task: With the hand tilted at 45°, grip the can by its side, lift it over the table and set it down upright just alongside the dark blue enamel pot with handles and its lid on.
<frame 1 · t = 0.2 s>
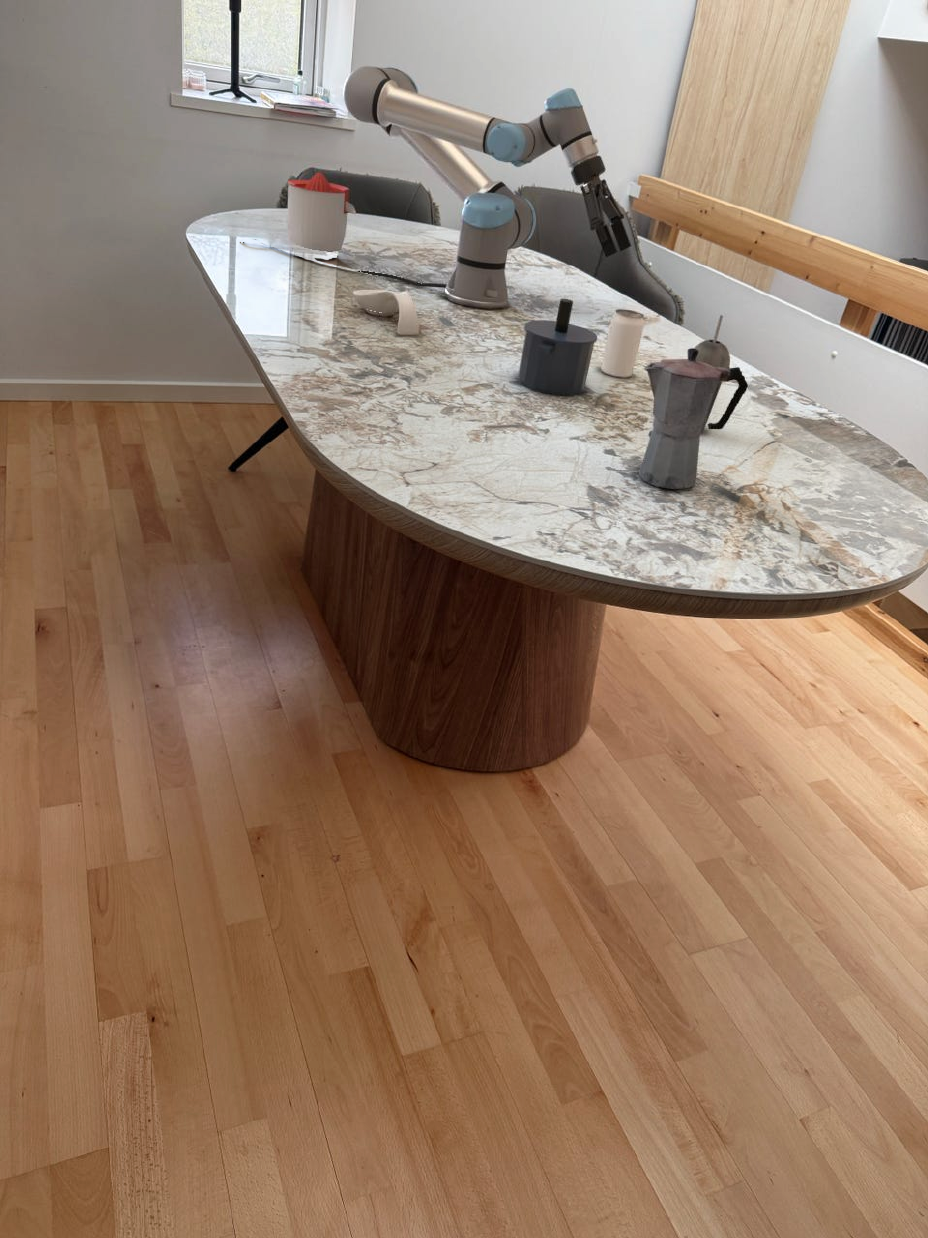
hand: (619, 251, 219), 16 cm above the table, tool tilted 35°, fingers open, 13 cm apart
beverage cup: (690, 429, 165), on the table
beige curved piece: (388, 320, 199), on the table
can: (615, 373, 188), on the table
citrus juicer: (318, 257, 242), on the table
pot lid: (560, 333, 171), point 9 cm above the table, touching pot
moka pot: (667, 480, 143), on the table
pot: (550, 383, 176), on the table
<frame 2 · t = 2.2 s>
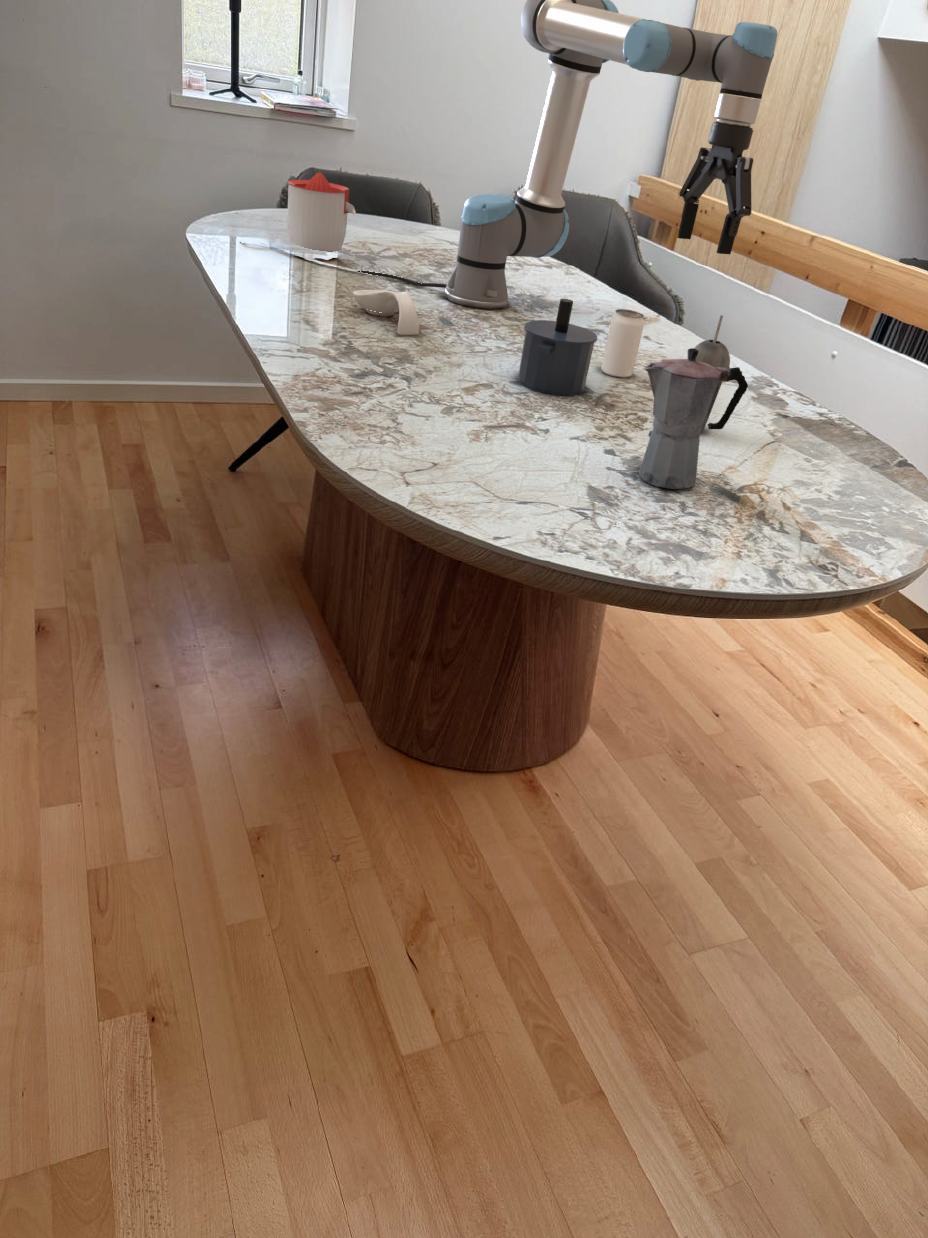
hand: (702, 245, 180), 25 cm above the table, tool pointing down, fingers open, 13 cm apart
nothing on the table moved.
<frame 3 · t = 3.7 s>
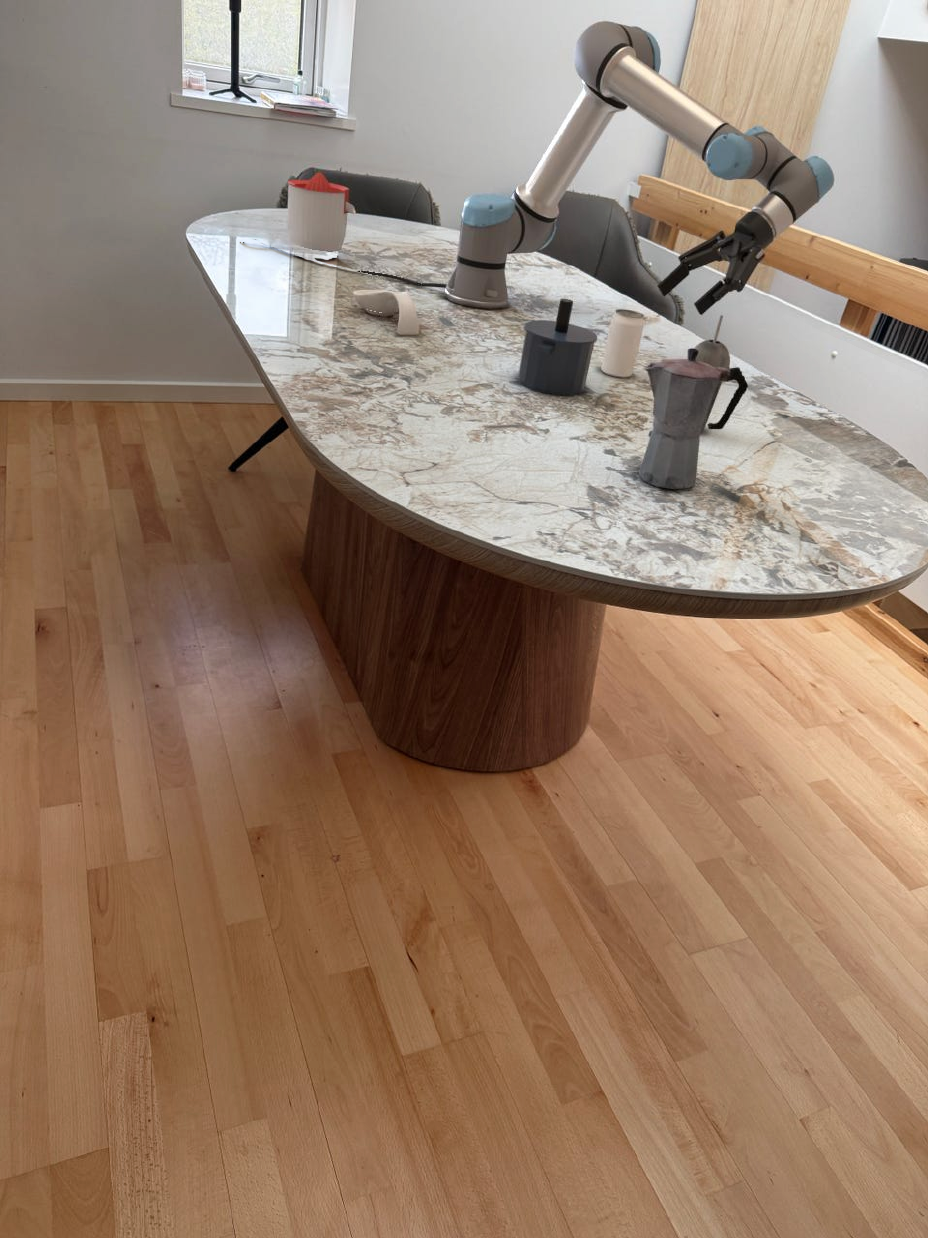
hand: (678, 299, 184), 15 cm above the table, tool tilted 45°, fingers open, 13 cm apart
nothing on the table moved.
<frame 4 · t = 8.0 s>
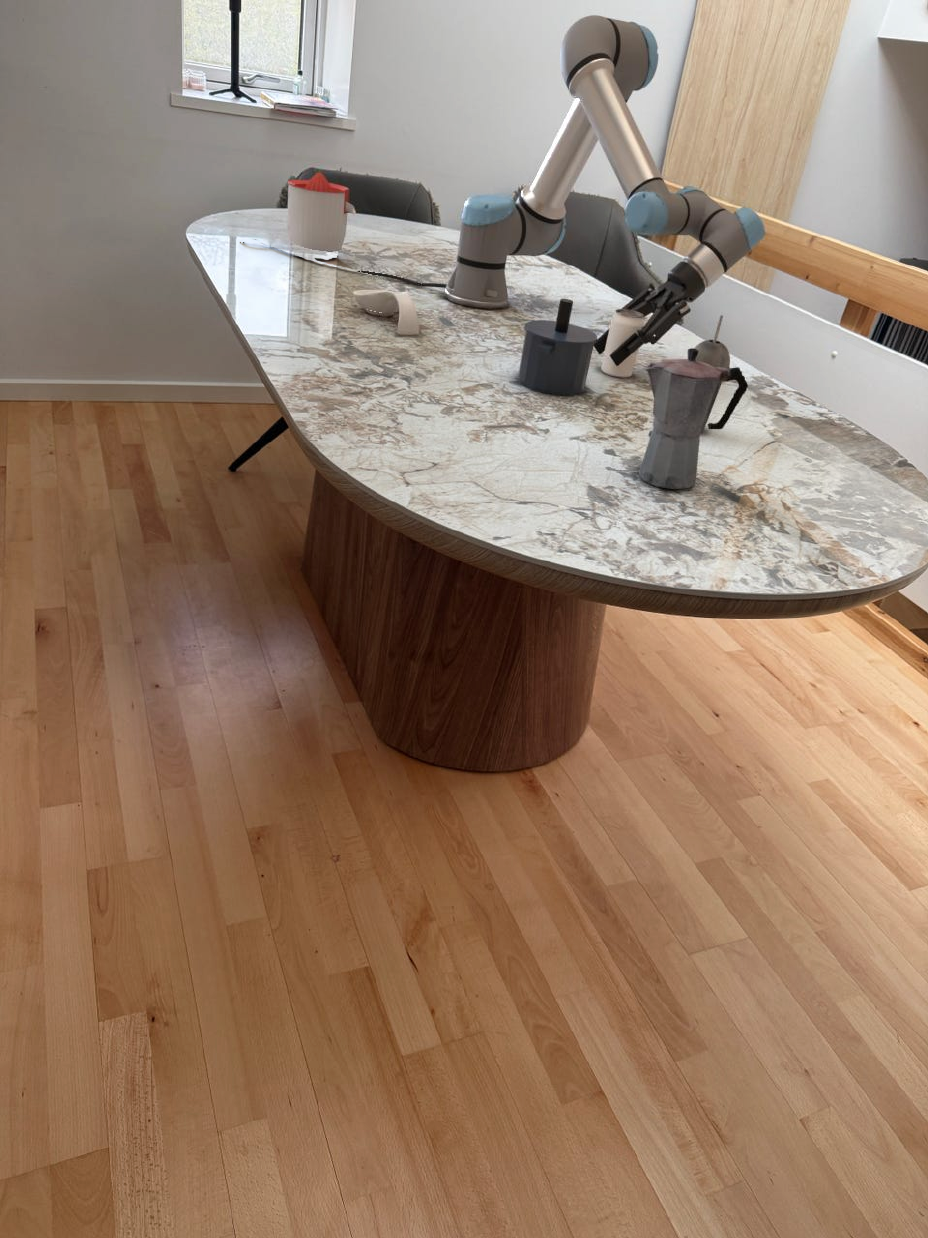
hand: (604, 354, 185), 4 cm above the table, tool tilted 45°, fingers closed on can, 6 cm apart
can: (615, 373, 188), on the table, touching gripper
everything else where it was.
when the fingers open (4 cm above the table, at t = 19.6 s): can stays where it is, on the table.
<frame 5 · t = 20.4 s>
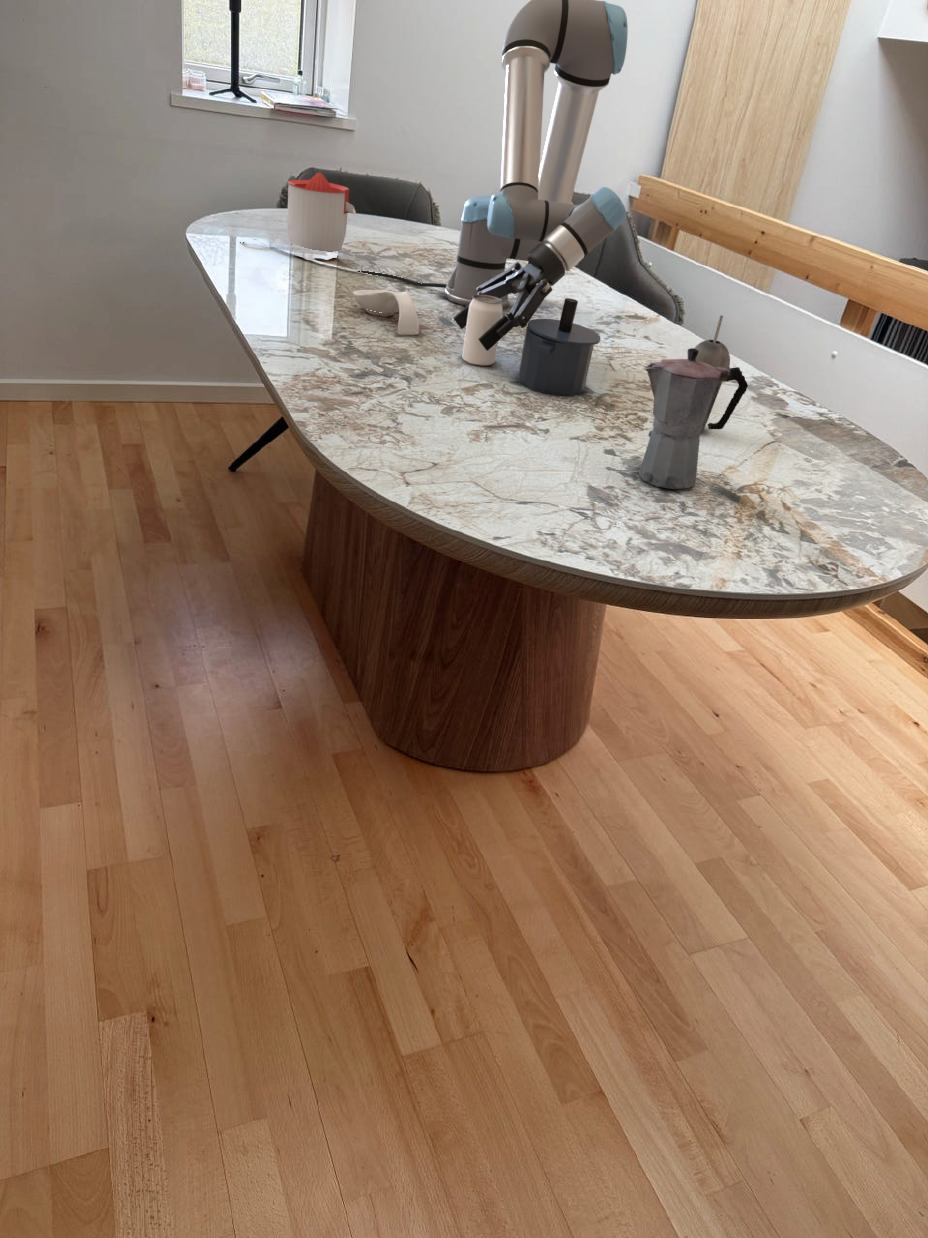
hand: (469, 334, 178), 5 cm above the table, tool tilted 45°, fingers open, 13 cm apart
can: (477, 362, 182), on the table
pot lid: (563, 332, 171), point 10 cm above the table, touching hand, pot
everything else where it was.
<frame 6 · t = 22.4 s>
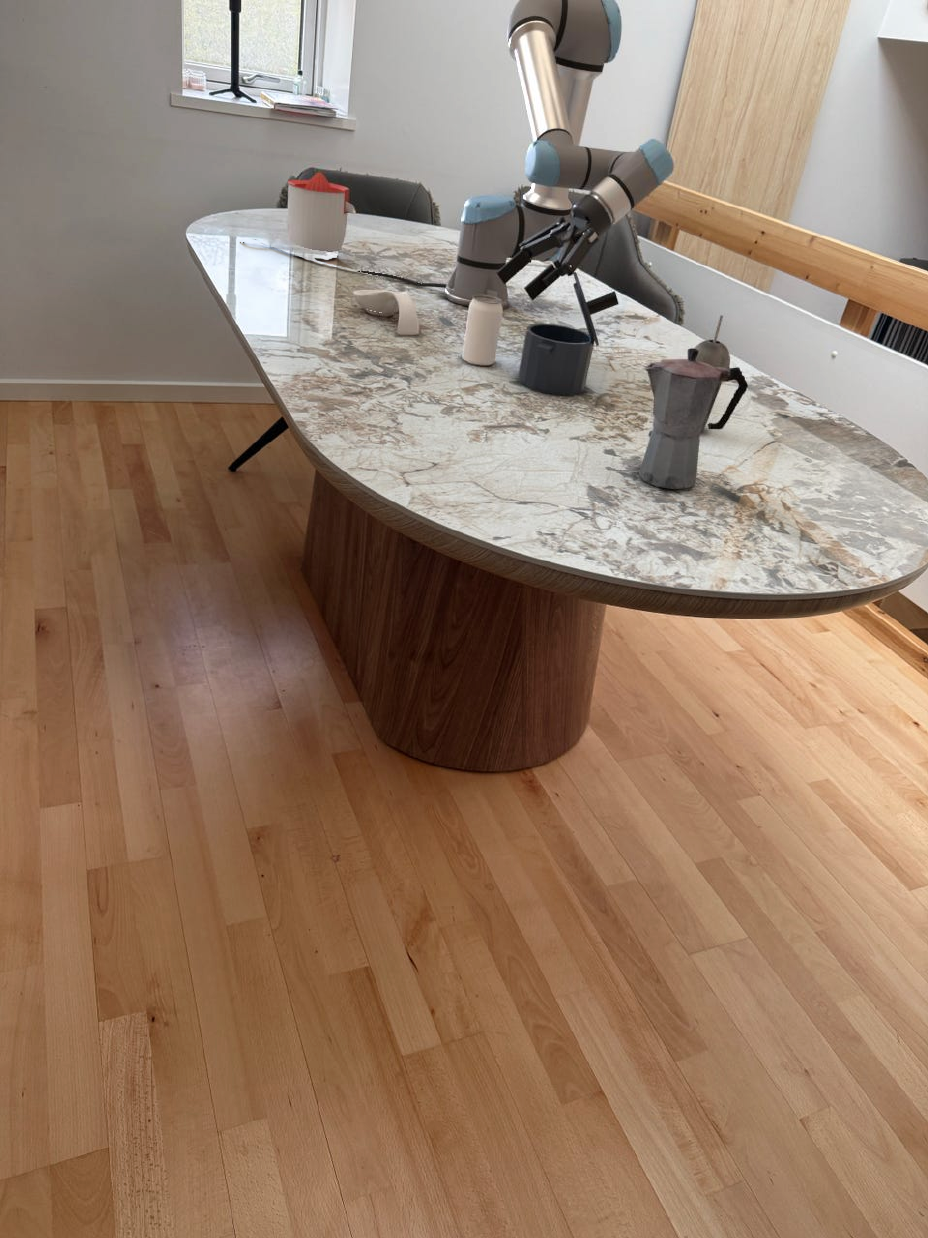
hand: (513, 286, 176), 15 cm above the table, tool tilted 45°, fingers open, 13 cm apart
pot lid: (584, 309, 169), point 14 cm above the table, tilted 61°, touching hand, pot
everything else where it was.
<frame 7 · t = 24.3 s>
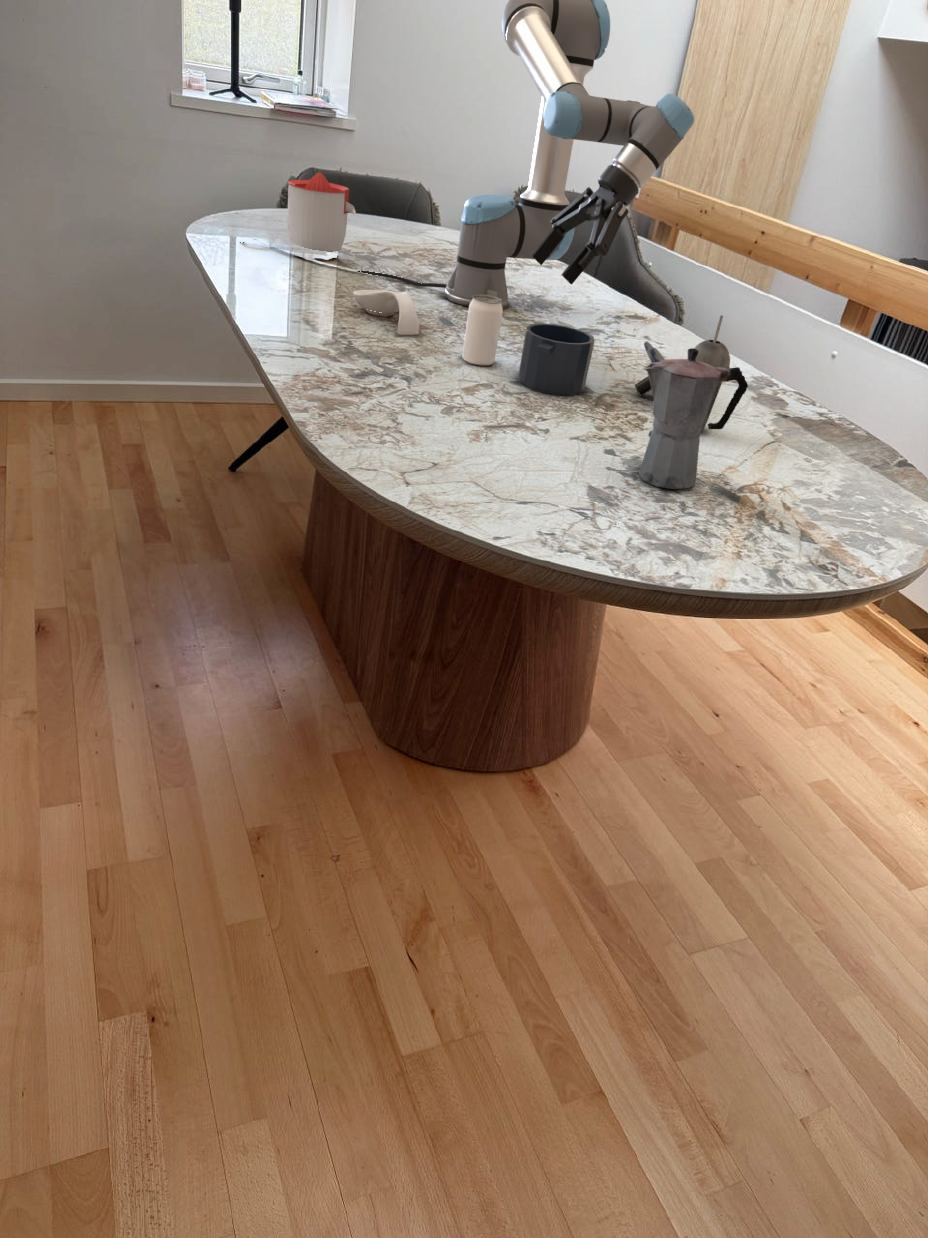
hand: (550, 269, 179), 18 cm above the table, tool tilted 35°, fingers open, 13 cm apart
pot lid: (665, 372, 175), point 5 cm above the table, tilted 136°
everything else where it was.
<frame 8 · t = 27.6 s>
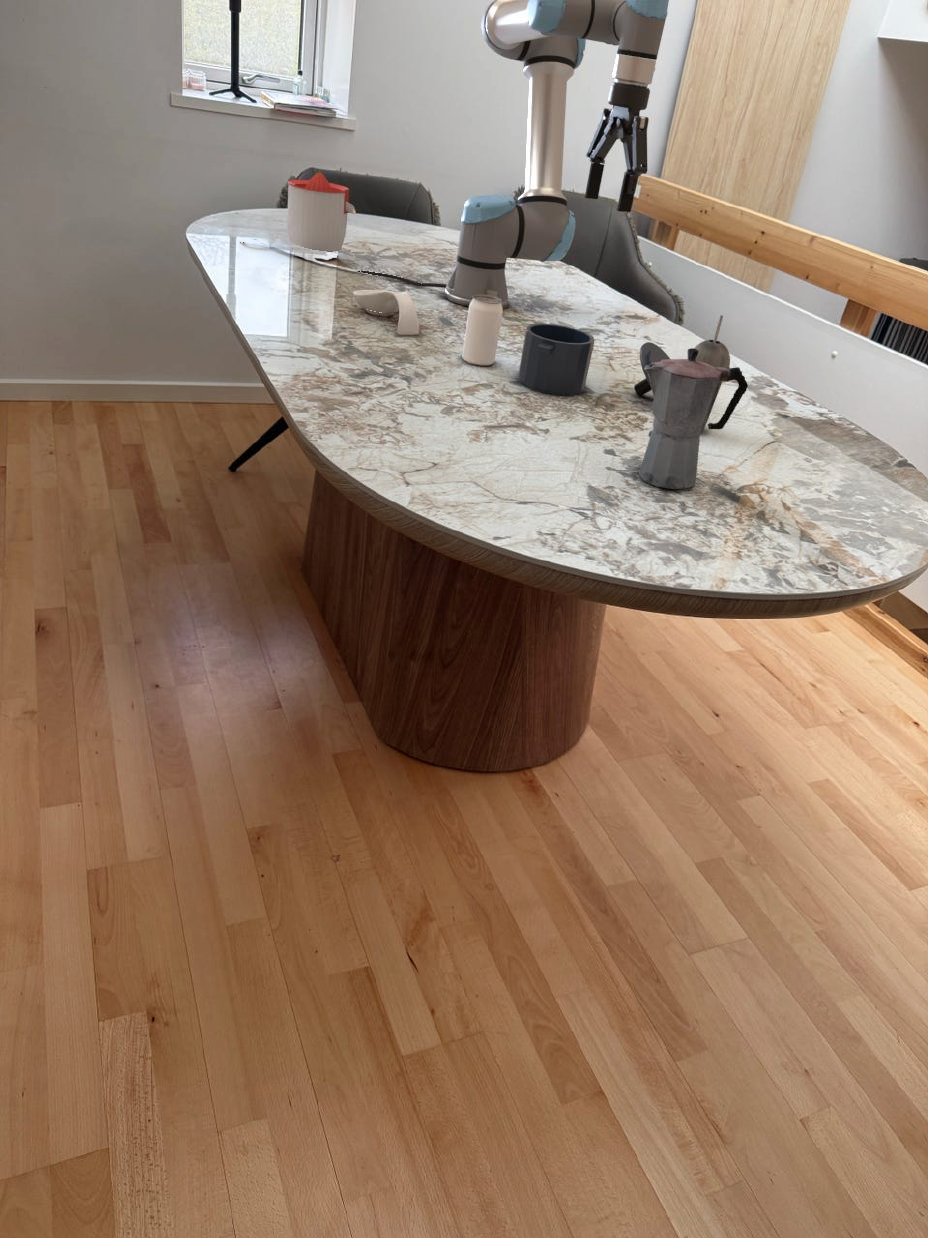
hand: (606, 204, 186), 29 cm above the table, tool pointing down, fingers open, 13 cm apart
pot lid: (663, 374, 173), point 5 cm above the table, tilted 136°
everything else where it was.
at the end: can inside the target area on the table beside the pot (0.7 cm from its centre), on the table; can tilted 0°; the gripper is holding nothing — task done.
